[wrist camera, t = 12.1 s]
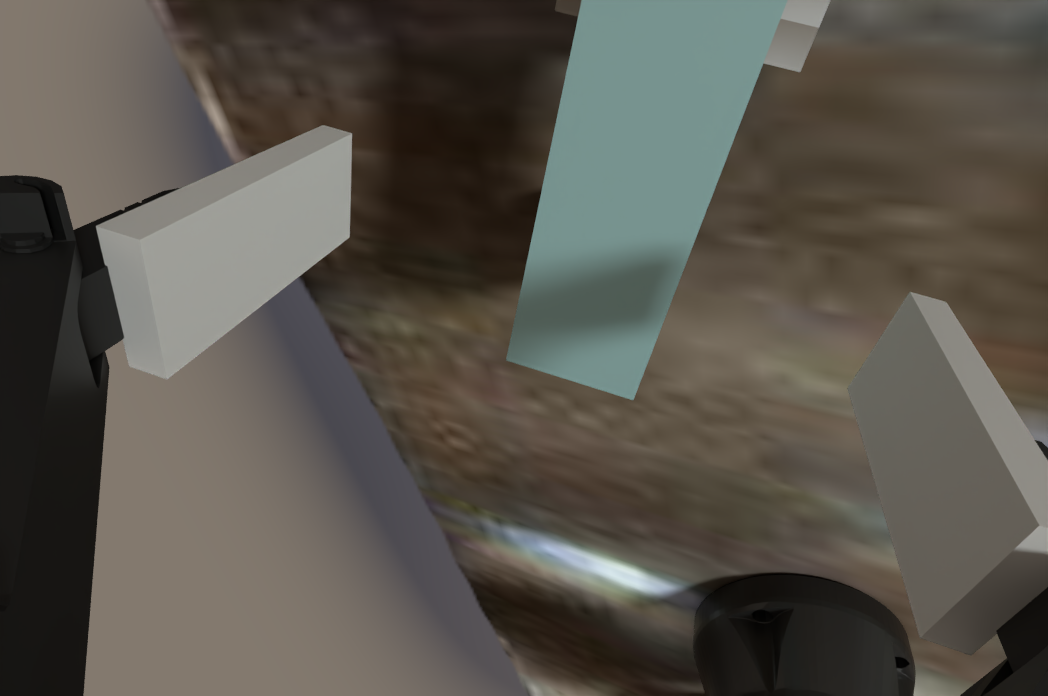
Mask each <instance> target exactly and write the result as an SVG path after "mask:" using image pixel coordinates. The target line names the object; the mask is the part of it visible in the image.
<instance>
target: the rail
mask: <svg viewBox="0 0 1048 696" xmlns="http://www.w3.org/2000/svg"><path fill="white" fill-rule="evenodd" d="M786 3H787V0H582V1H581V6H580V10H579V15H578V20H577V25H576V30H575V34H574V39H573V44H572V49H571V53H570V58H569V63H568V68H567V72H566V77H565V82H564V87H563V92H562V96H561V101H560V106H559V111H558V115H557V120H556V125H555V130H554V134H553V139H552V144H551V149H550V154H549V158H548V163H547V168H546V173H545V177H544V182H543V187H542V192H541V196H540V201H539V206H538V211H537V216H536V220H535V225H534V230H533V235H532V239H531V244H530V249H529V254H528V259H527V263H526V268H525V273H524V278H523V282H522V287H521V292H520V297H519V301H518V306H517V311H516V316H515V321H514V325H513V330H512V335H511V340H510V344H509V349H508V354H507V359H506V360H507V361H510V362H513V363H517V364H520V365H523V366H526V367H529V368H532V369H536V370H539V371H542V372H545V373H548V374H552V375H555V376H558V377H561V378H564V379H567V380H571V381H574V382H577V383H580V384H583V385H586V386H590V387H593V388H596V389H599V390H602V391H606V392H609V393H612V394H615V395H618V396H621V397H625V398H628V399H631V400H634V397H635V394H636V392H637V389H638V387H639V384H640V381H641V379H642V376H643V374H644V371H645V368H646V366H647V363H648V361H649V358H650V356H651V353H652V350H653V348H654V345H655V343H656V340H657V337H658V335H659V332H660V330H661V327H662V324H663V322H664V319H665V317H666V314H667V311H668V309H669V306H670V304H671V301H672V298H673V296H674V293H675V291H676V288H677V286H678V283H679V280H680V278H681V275H682V273H683V270H684V267H685V265H686V262H687V260H688V257H689V254H690V252H691V249H692V247H693V244H694V241H695V239H696V236H697V234H698V231H699V229H700V226H701V223H702V221H703V218H704V216H705V213H706V210H707V208H708V205H709V203H710V200H711V197H712V195H713V192H714V190H715V187H716V184H717V182H718V179H719V177H720V174H721V171H722V169H723V166H724V164H725V161H726V159H727V156H728V153H729V151H730V148H731V146H732V143H733V140H734V138H735V135H736V133H737V130H738V127H739V125H740V122H741V120H742V117H743V114H744V112H745V109H746V107H747V104H748V102H749V99H750V96H751V94H752V91H753V89H754V86H755V83H756V81H757V78H758V76H759V73H760V70H761V68H762V65H763V63H764V60H765V57H766V55H767V52H768V50H769V47H770V44H771V42H772V39H773V37H774V34H775V32H776V29H777V26H778V24H779V21H780V19H781V16H782V13H783V11H784V8H785V6H786Z"/></svg>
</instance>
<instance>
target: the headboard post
mask: <svg viewBox="0 0 1048 696" xmlns="http://www.w3.org/2000/svg"><path fill="white" fill-rule="evenodd" d="M581 1H582V0H557V1H556V6H555V11H557V12H561V13H565V14H569V15H573V16H577V17H578V15H579V10H580V6H581ZM829 3H830V0H787V3H786V6H785V8H784V11H783V13H782V16H781V19H780V21H779V24H778V26H777V29H776V32H775V34H774V37H773V39H772V42H771V44H770V47H769V50H768V52H767V55H766V57H765V60H764V63H765V64H769V65H773V66H777V67H781V68H785V69H789V70H793V71H797V72H800V71H801V69H802V66H803V64H804V62H805V59H806V57H807V55H808V52H809V50H810V48H811V45H812V43H813V40H814V38H815V36H816V33H817V31H818V29H819V26H820V24H821V22H822V19H823V17H824V14H825V12H826V10H827V7H828V5H829Z"/></svg>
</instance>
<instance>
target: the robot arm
mask: <svg viewBox="0 0 1048 696" xmlns="http://www.w3.org/2000/svg"><path fill="white" fill-rule="evenodd" d="M351 158H352V133H349V132H345V131H342V130H338V129H335V128H331V127H328V126H324V125H322V126H320V127H318V128H315V129H313V130H311V131H309V132H306V133H304V134H302V135H300V136H297V137H295V138H293V139H291V140H288V141H286V142H284V143H282V144H279V145H277V146H275V147H273V148H270V149H268V150H266V151H263V152H261V153H259V154H257V155H254V156H252V157H250V158H248V159H245V160H243V161H241V162H239V163H236V164H234V165H232V166H230V167H228V168H225V169H223V170H221V171H218V172H216V173H214V174H212V175H209V176H207V177H205V178H203V179H200V180H198V181H196V182H194V183H192V184H189V185H187V186H185V187H183V188H177V189H172V190H167V191H163V192H161V193H158V194H156V195H153V196H151V197H149V198H147V199H144V200H142V203H138V202H137V203H135V204H133V205H130V206H128V207H126V208H125V210H124V211H123V210H119V211H116V212H114V213H112V214H110V215H107V216H105V217H103V218H100V219H98V220H96V221H94V222H91V223H89V224H87V225H84V226H82V227H80V228H77V229H75V230H73V227H72V223H71V220H70V216H69V212H68V209H67V204H66V201H65V197H64V193H63V190H62V187H61V186H60V185H58V184H56V183H55V182H53V181H51V180H47V179H43V178H38V177H32V176H18V175H15V176H0V696H83V693H84V679H85V667H86V655H87V643H88V630H89V617H90V603H91V592H92V579H93V567H94V554H95V542H96V528H97V516H98V504H99V490H100V479H101V465H102V452H103V440H104V428H105V415H106V403H107V389H108V377H109V365H108V360H107V357H106V353H105V351H106V350H107V349H108V348H110V347H112V346H113V345H115V344H116V343H118V342H119V341H121V340H122V339H123V342H124V347H125V351H126V355H127V359H128V364H129V367H133V368H135V369H138V370H141V371H144V372H147V373H150V374H153V375H156V376H159V377H161V378H164V379H168V378H170V377H171V376H172V375H173V374H175V373H176V372H177V371H178V370H180V369H181V368H182V367H184V366H185V365H186V364H187V363H189V362H190V361H191V360H192V359H194V358H195V357H196V356H198V355H199V354H200V353H202V352H203V351H204V350H205V349H207V348H208V347H209V346H210V345H212V344H213V343H214V342H216V341H217V340H218V339H220V338H221V337H222V336H223V335H225V334H226V333H227V332H229V331H230V330H231V329H232V328H234V327H235V326H236V325H238V324H239V323H240V322H241V321H243V320H244V319H245V318H247V317H248V316H249V315H250V314H252V313H253V312H254V311H256V310H257V309H258V308H259V307H261V306H262V305H263V304H264V303H266V302H267V301H268V300H270V299H271V298H272V297H274V296H275V295H276V294H277V293H279V292H280V291H281V290H283V289H284V288H285V287H286V286H287V285H289V284H290V283H291V282H293V281H294V280H295V279H297V278H298V277H299V276H300V275H302V274H303V273H304V272H306V271H307V270H308V269H309V268H311V267H312V266H313V265H315V264H316V263H317V262H318V261H320V260H321V259H322V258H324V257H325V256H326V255H327V254H329V253H330V252H331V251H333V250H334V249H335V248H336V247H338V246H339V245H340V244H342V243H343V242H344V241H345V240H347V239H348V238H349V237H350V200H351ZM848 392H849V395H850V399H851V402H852V406H853V409H854V413H855V416H856V419H857V423H858V426H859V430H860V433H861V437H862V440H863V444H864V447H865V450H866V454H867V457H868V461H869V464H870V468H871V471H872V474H873V478H874V481H875V485H876V488H877V492H878V495H879V499H880V502H881V505H882V509H883V512H884V516H885V519H886V523H887V526H888V530H889V533H890V536H891V540H892V543H893V547H894V550H895V554H896V557H897V560H898V564H899V567H900V571H901V574H902V578H903V581H904V585H905V588H906V591H907V595H908V598H909V602H910V605H911V609H912V612H913V616H914V619H915V622H916V626H917V629H918V633H919V636H920V638H922V639H925V640H927V641H930V642H933V643H936V644H939V645H942V646H945V647H948V648H951V649H954V650H957V651H959V652H962V653H965V654H968V655H972V654H973V653H975V652H976V651H977V650H978V649H979V648H980V647H982V646H983V645H984V644H985V643H986V642H988V641H989V640H990V639H991V638H992V637H994V636H995V635H996V634H998V637H999V639H1000V642H1001V644H1002V646H1003V649H1004V651H1005V654H1006V656H1007V659H1005V660H1004V661H1003V662H1002V663H1000V664H999V665H998V666H997V667H995V668H994V669H993V670H992V671H990V672H989V673H988V674H987V675H985V676H984V677H983V678H981V679H980V680H979V681H978V682H976V683H975V684H974V685H973V686H971V687H970V688H969V689H968V690H966V691H965V692H964V693H963V694H961V695H960V696H1048V448H1047V447H1046V446H1045V445H1044V444H1043V443H1042V442H1040V441H1036V440H1034V438H1033V437H1032V435H1031V434H1030V432H1029V431H1028V429H1027V427H1026V426H1025V424H1024V423H1023V421H1022V420H1021V418H1020V417H1019V415H1018V413H1017V412H1016V410H1015V409H1014V407H1013V406H1012V404H1011V403H1010V401H1009V399H1008V398H1007V396H1006V395H1005V393H1004V392H1003V390H1002V388H1001V387H1000V385H999V384H998V382H997V381H996V379H995V378H994V376H993V374H992V373H991V371H990V370H989V368H988V367H987V365H986V364H985V362H984V360H983V359H982V357H981V356H980V354H979V353H978V351H977V349H976V348H975V346H974V345H973V343H972V342H971V340H970V339H969V337H968V335H967V334H966V332H965V331H964V329H963V328H962V326H961V325H960V323H959V321H958V320H957V318H956V317H955V315H954V314H953V312H952V310H951V309H950V307H949V306H948V304H947V303H946V302H944V301H941V300H937V299H934V298H930V297H927V296H923V295H919V294H916V293H912V292H909V294H908V295H907V297H906V298H905V300H904V302H903V303H902V305H901V306H900V308H899V309H898V311H897V312H896V314H895V316H894V317H893V319H892V320H891V322H890V323H889V325H888V326H887V328H886V330H885V331H884V333H883V334H882V336H881V337H880V339H879V340H878V342H877V344H876V345H875V347H874V348H873V350H872V351H871V353H870V354H869V356H868V358H867V359H866V361H865V362H864V364H863V365H862V367H861V368H860V370H859V371H858V373H857V375H856V376H855V378H854V379H853V381H852V382H851V384H850V385H849V387H848ZM693 650H694V657H695V661H696V665H697V668H698V671H699V675H700V678H701V681H702V685H703V688H704V691H705V695H706V696H913V694H914V686H915V664H914V660H913V656H912V652H911V648H910V644H909V641H908V637H907V634H906V631H905V629H904V627H903V625H902V624H901V622H900V621H899V620H898V619H897V617H896V616H895V615H894V614H893V613H892V612H891V611H890V610H889V609H887V608H886V607H885V606H884V605H882V604H881V603H880V602H878V601H877V600H875V599H873V598H872V597H870V596H868V595H866V594H864V593H862V592H860V591H858V590H856V589H853V588H851V587H848V586H845V585H842V584H839V583H836V582H832V581H828V580H824V579H819V578H813V577H806V576H796V575H769V576H759V577H753V578H748V579H744V580H740V581H737V582H734V583H731V584H729V585H726V586H724V587H722V588H720V589H718V590H717V591H715V592H714V593H712V594H711V595H709V596H708V597H707V598H706V599H705V600H704V601H703V602H702V604H701V605H700V606H699V608H698V610H697V612H696V615H695V619H694V635H693Z"/></svg>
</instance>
